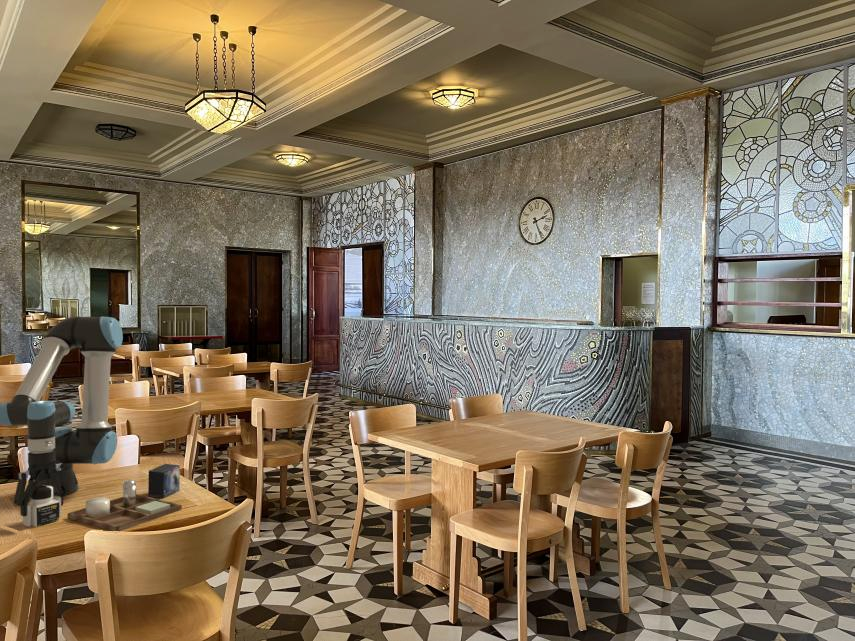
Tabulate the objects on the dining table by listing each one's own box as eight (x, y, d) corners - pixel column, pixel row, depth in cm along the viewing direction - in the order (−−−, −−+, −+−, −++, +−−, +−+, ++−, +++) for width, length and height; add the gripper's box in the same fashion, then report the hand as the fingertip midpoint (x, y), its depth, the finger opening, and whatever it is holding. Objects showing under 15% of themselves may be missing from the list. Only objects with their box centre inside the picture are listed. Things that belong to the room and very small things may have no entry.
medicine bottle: (37, 529, 204) (36, 491, 203) (24, 525, 207) (24, 487, 207) (60, 523, 210) (59, 485, 209) (48, 518, 213) (47, 482, 213)
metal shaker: (120, 506, 224) (120, 480, 223) (131, 503, 227) (130, 477, 227) (128, 508, 222) (128, 482, 221) (138, 505, 225) (138, 479, 225)
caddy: (67, 520, 212) (67, 513, 212) (133, 500, 233) (133, 493, 233) (116, 534, 200) (116, 527, 200) (181, 511, 221) (181, 504, 221)
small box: (163, 501, 232) (163, 472, 232) (147, 499, 234) (147, 470, 233) (180, 492, 243) (180, 464, 242) (164, 491, 244) (164, 463, 244)
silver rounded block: (81, 517, 213) (80, 501, 213) (100, 511, 219) (100, 496, 219) (94, 521, 209) (94, 505, 209) (114, 514, 216) (114, 499, 215)
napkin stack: (135, 513, 217) (135, 507, 217) (155, 506, 224) (155, 500, 224) (151, 517, 214) (151, 510, 214) (170, 510, 220) (170, 504, 220)
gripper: (12, 459, 196) (14, 533, 197) (81, 445, 215) (82, 513, 216) (-2, 456, 200) (-1, 529, 201) (67, 442, 219) (68, 509, 220)
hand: (42, 520), depth 208 cm, fingers open, 9 cm apart
